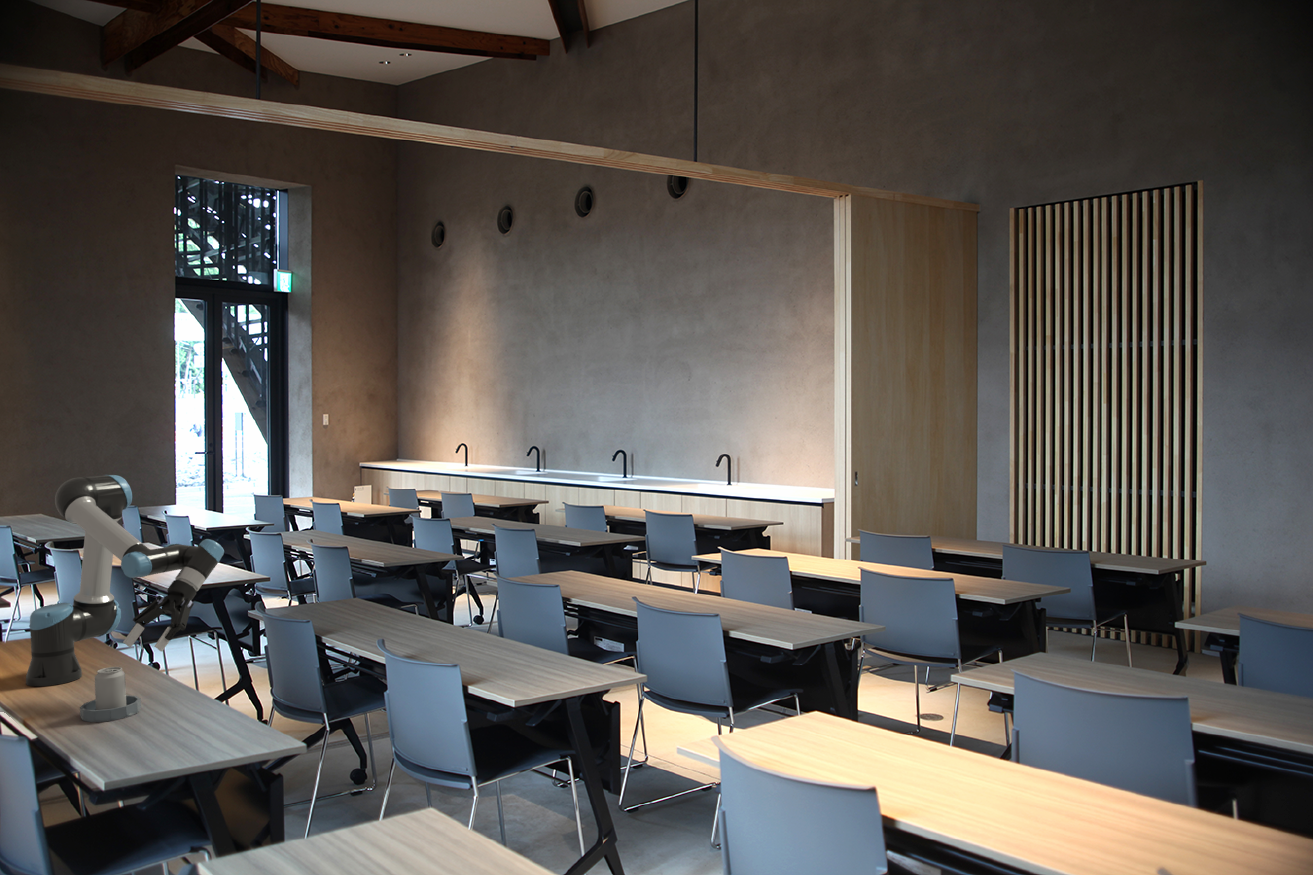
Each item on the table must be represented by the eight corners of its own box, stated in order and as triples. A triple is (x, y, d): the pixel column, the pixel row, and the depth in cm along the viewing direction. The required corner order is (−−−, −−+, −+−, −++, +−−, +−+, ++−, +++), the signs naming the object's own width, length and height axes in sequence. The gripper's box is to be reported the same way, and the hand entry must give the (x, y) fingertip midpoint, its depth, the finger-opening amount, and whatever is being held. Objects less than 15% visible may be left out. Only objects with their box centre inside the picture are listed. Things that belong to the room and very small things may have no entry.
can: (117, 715, 272) (115, 672, 272) (90, 716, 273) (88, 672, 272) (132, 707, 280) (130, 665, 280) (105, 707, 280) (104, 665, 280)
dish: (75, 714, 276) (74, 703, 276) (131, 702, 286) (130, 692, 286) (89, 725, 266) (88, 714, 266) (147, 713, 276) (146, 702, 276)
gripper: (222, 595, 295) (180, 657, 282) (166, 590, 306) (123, 649, 293) (206, 581, 290) (162, 643, 277) (149, 576, 301) (105, 636, 288)
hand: (142, 646), depth 285 cm, fingers open, 13 cm apart
